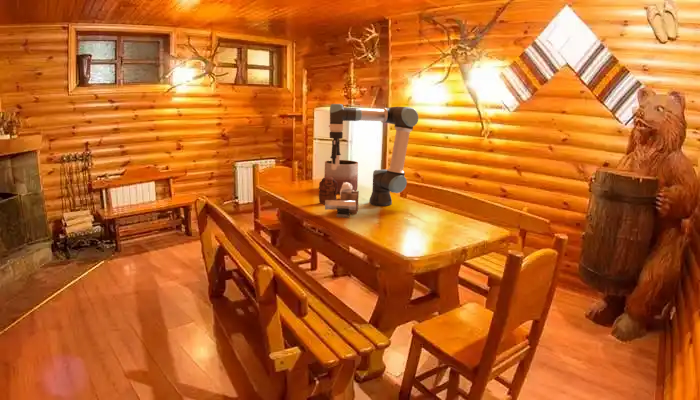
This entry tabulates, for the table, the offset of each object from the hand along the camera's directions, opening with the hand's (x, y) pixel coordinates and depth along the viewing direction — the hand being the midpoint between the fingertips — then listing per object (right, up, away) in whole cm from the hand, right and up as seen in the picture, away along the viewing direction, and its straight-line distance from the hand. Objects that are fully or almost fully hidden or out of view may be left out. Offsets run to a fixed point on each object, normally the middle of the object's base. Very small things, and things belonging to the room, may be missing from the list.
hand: (335, 167), depth 255 cm
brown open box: (+8, -26, +15) cm, 31 cm away
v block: (+5, -28, +4) cm, 29 cm away
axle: (+3, -24, +3) cm, 25 cm away
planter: (+1, -12, +77) cm, 78 cm away
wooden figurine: (-6, -21, +35) cm, 41 cm away
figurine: (+6, -19, +48) cm, 52 cm away
